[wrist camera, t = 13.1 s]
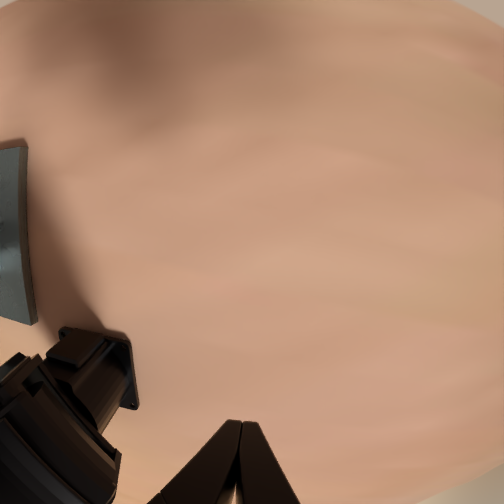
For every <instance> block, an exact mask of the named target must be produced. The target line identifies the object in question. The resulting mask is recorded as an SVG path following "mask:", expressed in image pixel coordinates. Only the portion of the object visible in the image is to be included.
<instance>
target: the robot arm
mask: <svg viewBox="0 0 504 504" xmlns="http://www.w3.org/2000/svg"><path fill="white" fill-rule="evenodd" d="M58 333H59V339H60V341H59V342H58V343H57V344H56V345H54V346H53V347H52V348H51V349H50V350H48V351H47V353H46V357H47V358H45V359H44V360H42V358H41V357H40V355H39V354H36V355H34V356H33V357H31V358H30V356H27V357H26V356H25V355H23V354H21V353H20V352H18V353H17V354H15V355H14V356H13V357H11V358H10V359H9V360H8V361H6V362H5V363H4V364H3V365H1V366H0V504H112V502H113V500H114V498H115V495H116V490H117V483H118V476H119V469H120V463H121V456H122V454H121V453H120V452H119V451H118V450H117V449H116V448H114V447H113V446H112V445H111V444H110V443H109V442H108V441H107V440H106V439H105V438H104V437H103V436H102V433H103V431H104V430H105V428H106V427H107V425H108V424H109V422H110V420H111V419H112V417H113V416H114V414H115V413H116V411H117V409H118V408H119V407H123V408H127V409H131V410H137V409H138V407H139V405H140V404H139V398H138V391H137V385H136V378H135V371H134V363H133V355H132V347H131V344H130V343H129V342H128V341H127V340H123V339H118V338H113V337H108V336H104V335H102V334H100V333H95V332H90V331H86V330H81V329H77V328H75V329H72V328H68V327H62V328H61V329H59V331H58ZM64 333H65V334H64ZM122 345H124V346H125V347H126V349H125V348H124V347H123V346H122ZM133 404H134V405H133ZM235 486H236V504H300V502H299V500H298V498H297V496H296V495H295V493H294V491H293V489H292V487H291V486H290V484H289V482H288V480H287V478H286V476H285V474H284V473H283V471H282V469H281V467H280V465H279V463H278V461H277V459H276V457H275V455H274V453H273V451H272V450H271V448H270V446H269V444H268V442H267V440H266V438H265V436H264V434H263V432H262V430H261V428H260V426H259V424H258V423H257V422H252V421H244V422H243V423H242V421H240V420H231V419H228V420H227V421H225V423H224V424H223V425H222V426H221V427H220V428H219V429H218V431H217V432H216V433H215V434H214V435H213V436H212V437H211V438H210V439H209V441H208V442H207V443H206V444H205V445H204V446H203V447H202V448H201V449H200V450H199V451H198V453H197V454H196V455H195V456H194V457H193V458H192V459H191V460H190V461H189V462H188V463H187V464H186V465H185V466H184V467H183V468H182V469H181V470H180V472H179V473H178V474H177V475H176V476H175V477H174V478H173V479H172V480H171V481H170V482H169V483H168V484H167V485H166V486H165V487H164V488H163V489H162V490H161V491H160V493H157V494H156V495H155V496H154V497H153V498H152V499H151V500H150V501H149V502H148V503H147V504H231V503H232V499H233V496H234V492H235Z"/></svg>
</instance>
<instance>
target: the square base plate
mask: <svg viewBox="0 0 504 504" xmlns="http://www.w3.org/2000/svg"><path fill="white" fill-rule="evenodd" d="M27 155H28V147H15V148H9V149H3V150H0V316H2V317H5V318H8V319H11V320H14V321H17V322H20V323H24V324H27V325H30V326H32V325H33V324H35V323H36V322H38V318H37V313H36V307H35V301H34V294H33V287H32V280H31V272H30V262H29V251H28V238H27V217H26V176H27Z"/></svg>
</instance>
